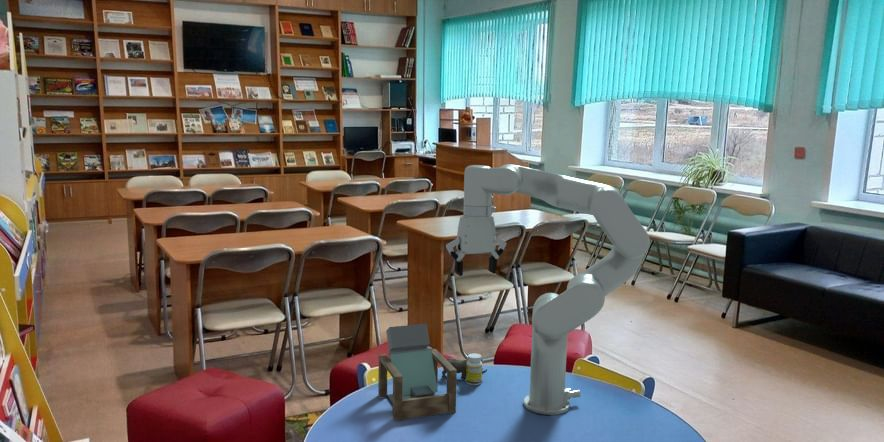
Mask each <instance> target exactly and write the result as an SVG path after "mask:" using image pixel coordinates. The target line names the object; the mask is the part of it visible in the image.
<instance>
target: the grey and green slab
mask: <svg viewBox="0 0 884 442" xmlns="http://www.w3.org/2000/svg"><path fill="white" fill-rule="evenodd" d="M385 332H386V339H387V344H388V345H387V346H388V352H387V354H388V355H387V356H389V359H390V361H391V362H392V363H393V365H394V366H395V367H396V369H397V370H398V371H399V372H400V374H401V375H402V376H403V382H402V396H410V388H414V387H422V386H429V388H430V389H431V390H432V391H433V392H434V393H438V391H439V389H438V383H436V377H435V371H434V365H433V358H432V352H431V351H432V349H433V348H432V346H431V341H430V336H429V330H428V324H427V323H418V324H417V323H416V324H406V325H397V326H389V327H388V328H387V329H386V331H385Z"/></svg>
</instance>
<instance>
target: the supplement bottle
mask: <svg viewBox="0 0 884 442" xmlns="http://www.w3.org/2000/svg"><path fill="white" fill-rule="evenodd" d="M467 360H468V361H467V366H466V377H465V379H466V380H465V381H466V383H467V385H470V386H479V385H481V384H482V383H483V374H482V371H483V370H482V368H483V361H482V354H480V353H474V352H473V353H469V354H468V355H467Z"/></svg>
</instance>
